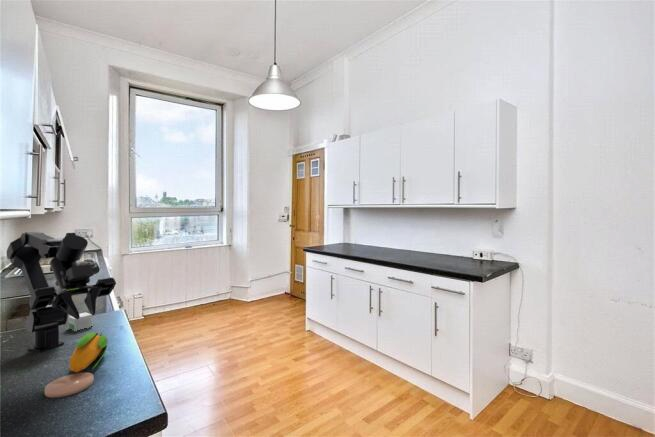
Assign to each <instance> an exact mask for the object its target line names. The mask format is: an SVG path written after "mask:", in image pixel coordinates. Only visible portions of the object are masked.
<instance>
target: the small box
mask: <svg viewBox="0 0 655 437" xmlns="http://www.w3.org/2000/svg"><path fill="white" fill-rule="evenodd" d="M79 316H80V317H79V319H76V318H74V317H72V316H71V315H67V321H68V329H69V328H70V329H72V330H71V331H73V330H74V331H73V332H75V331H76V332H78V331H77V330H80V329H83V330H85V329H84V328H87V329H89V328H88V327H91V326H93V324H94V322H93V315H92V314H91V313H90V312H87V311H86V312H79ZM93 327H94V326H93ZM91 328H92V327H91ZM70 329H69V330H70ZM80 331H81V330H80Z"/></svg>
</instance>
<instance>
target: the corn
mask: <svg viewBox="0 0 655 437" xmlns="http://www.w3.org/2000/svg"><path fill="white" fill-rule="evenodd" d="M108 342H109V340H108V338H107V336H106V335H105V334H103V333H100V334H99V333H98V332H88V333H87V334H84V335H83V336H82V337H81V338H79V340H78V341H77V346H76V348H75V349H74V351H73V353H72V354H71V356H70V357H69V371H72V372H74V373H80V371H83V370H85V369H87V368H88V367H89V366H90V365H91V364H92V363H93V362H95V361H97V362H96V363H95V364H94V365H93V367H92V369H94V368H96V366H98V364H99V363H100V361H101V360H102V358H103V357H104V356H105V354H106V350H107V347H108V346H107V344H108ZM96 359H97V360H96Z"/></svg>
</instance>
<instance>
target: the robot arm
mask: <svg viewBox="0 0 655 437" xmlns="http://www.w3.org/2000/svg"><path fill="white" fill-rule="evenodd" d="M88 244H89V241H88V240H87V239H86V238H85V237H83V236H80V235H77V234H76V232H66V233H65V236H64V237H63V238H62V237H61V238H55V237H53V236H50V235H47V234H45V233H44V232H41V231H31V232H29V231H28V232H27V231H26V232H25V231H24V232H23V233H21V235H20V237H18V238H16V239H15V240H13V241H11V242H10V244H9V245H8V247H7V249H6V258H7V259H8V260H9V261H10V263H11V265H12V266H13V267H15V268H17V269H20V271H21V273H22V275H23V278H24V280H25V283H26V284H25V285H26V287H27V289H28V291H29V295H30V298H29V301H28V305H29V308H30V311H29V315H28V316H27V318H26V321H25V322H24V326H25V330H26V331H27V332H30V333H32V334H33V345H31V346H29V347H27V350H30V351H34V352H41V353H42V352H44V351H47V350H51V349H53V348H56V347H60V346H61V345H65V341H61V340H60V331H59V327H60V326H65V325H67V321H68V316H72V317H74V318H76V319H79V317H80V316H79V314H80V312H79V310H78V308H77V307H76V305H75V302H74V301H73V297H74V296H80V295H84V297H85V298H84V300H83V301H84V304H85V305H86V308H87V309H88V312H89V314H92V316H95V315H96V307H97V306H96V304H97V298H99V297H105V296H108V295H110V294H112V291H113V290H114V288H115V287H116V285H117V282H116V279H115V278H114V277H106V278H99V279H97V281H96V282H95V284H89V283H90V282H91V279H90V278H91V277H93V276H94V275H97V274H98V273H100V266H99V264H98V262H97V261H95V262H89V263H88V264H81V265H78V263H77V262H78V261H80V260H81V259H82V257H83V254H84V252H85V250H86V249H87V246H88ZM42 259H44V260H45V259H49V260H50V259H51V261H50V262H49V265H50V267H49V272H52V273H53V275H54V278H55V280H56V281H55V283H54V284H55V287H56V286H57V287H59V288H56V289H55V287H54V286H49V283H48V281H47V278H46V276H45V273H44V270H43V268H42V266H41V260H42ZM88 284H89V285H88Z"/></svg>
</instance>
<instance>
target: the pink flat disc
mask: <svg viewBox="0 0 655 437" xmlns="http://www.w3.org/2000/svg"><path fill="white" fill-rule="evenodd" d="M94 376H95V375H94V374H93V373H91V372H74V373H71V374H67V375H65V376H64V375H63V376H61V377H59V378H56V379H54V380H53V381H51V382H49V383H48V384H46V385H45V387H44V396H45V397H47V398H50V399H53V398H55V399H58V398H63V397H68V396H72V395H75V394H77V393H80V392H82V391H85V390H86V389H88V388H89V387H91V386H92V385H93V383H94Z"/></svg>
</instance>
